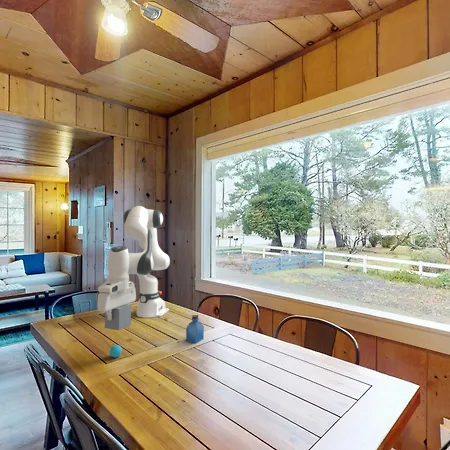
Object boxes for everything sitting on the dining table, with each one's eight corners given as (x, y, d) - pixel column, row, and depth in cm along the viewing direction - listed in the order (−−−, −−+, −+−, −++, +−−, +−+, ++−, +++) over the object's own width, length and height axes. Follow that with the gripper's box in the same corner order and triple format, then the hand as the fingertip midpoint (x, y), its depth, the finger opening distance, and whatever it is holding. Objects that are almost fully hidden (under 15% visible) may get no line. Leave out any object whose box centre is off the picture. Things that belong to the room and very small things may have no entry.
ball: (116, 344, 134) (108, 343, 130) (125, 346, 133) (118, 345, 128) (113, 356, 132) (105, 356, 128) (122, 358, 131) (114, 357, 126)
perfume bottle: (186, 340, 150) (186, 316, 150) (193, 336, 155) (193, 313, 155) (196, 343, 147) (197, 318, 147) (203, 339, 152) (203, 315, 152)
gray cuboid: (117, 322, 136) (117, 303, 136) (130, 325, 133) (131, 304, 133) (104, 327, 129) (105, 307, 129) (118, 330, 126) (119, 309, 126)
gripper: (128, 280, 142) (127, 309, 142) (94, 288, 123) (94, 322, 123) (139, 281, 139) (139, 311, 139) (107, 289, 120) (106, 324, 120)
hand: (117, 316), depth 131 cm, fingers closed on gray cuboid, 8 cm apart
